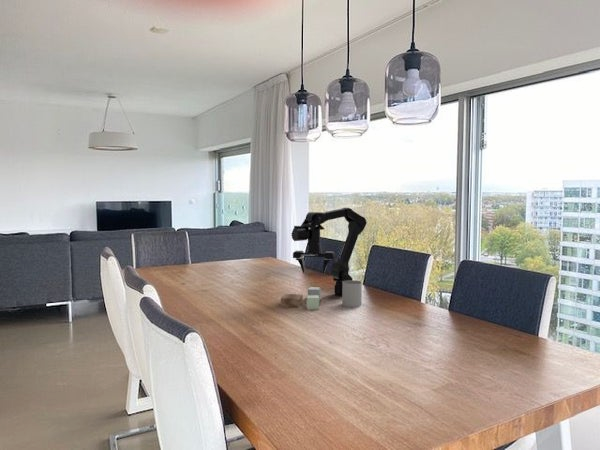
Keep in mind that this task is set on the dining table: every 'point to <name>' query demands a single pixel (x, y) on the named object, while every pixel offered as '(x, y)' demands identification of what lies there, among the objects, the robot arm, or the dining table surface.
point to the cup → (352, 293)
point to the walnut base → (291, 300)
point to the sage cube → (312, 302)
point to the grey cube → (314, 291)
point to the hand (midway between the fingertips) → (313, 273)
